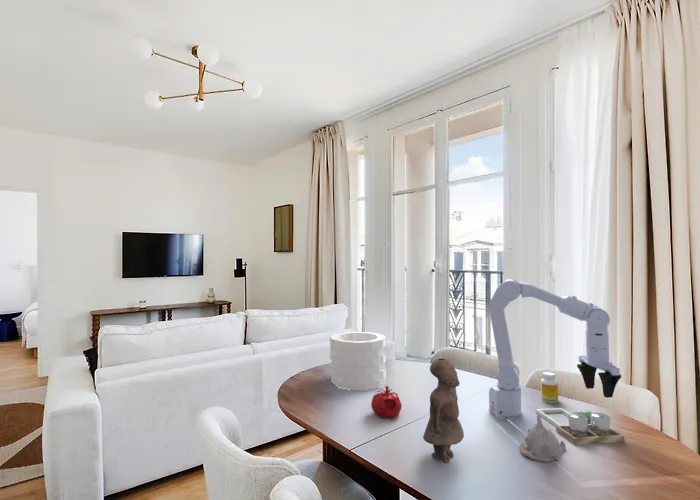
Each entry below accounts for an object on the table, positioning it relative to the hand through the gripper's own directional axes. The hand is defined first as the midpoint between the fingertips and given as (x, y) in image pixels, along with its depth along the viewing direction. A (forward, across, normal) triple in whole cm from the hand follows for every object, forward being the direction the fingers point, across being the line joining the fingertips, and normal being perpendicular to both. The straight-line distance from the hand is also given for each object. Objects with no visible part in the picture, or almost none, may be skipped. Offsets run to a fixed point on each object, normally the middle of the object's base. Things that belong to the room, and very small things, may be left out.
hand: (598, 392), depth 114 cm
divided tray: (+10, -7, +8) cm, 15 cm away
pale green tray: (+10, +4, +10) cm, 15 cm away
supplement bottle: (+11, +22, +2) cm, 25 cm away
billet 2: (+9, -7, +5) cm, 13 cm away
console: (+10, +3, +2) cm, 11 cm away
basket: (+11, +52, +68) cm, 86 cm away
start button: (+9, +3, +2) cm, 10 cm away
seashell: (+11, -12, +25) cm, 30 cm away
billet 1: (+9, -7, +12) cm, 17 cm away
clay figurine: (+11, -12, +52) cm, 54 cm away
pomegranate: (+11, +16, +62) cm, 65 cm away
